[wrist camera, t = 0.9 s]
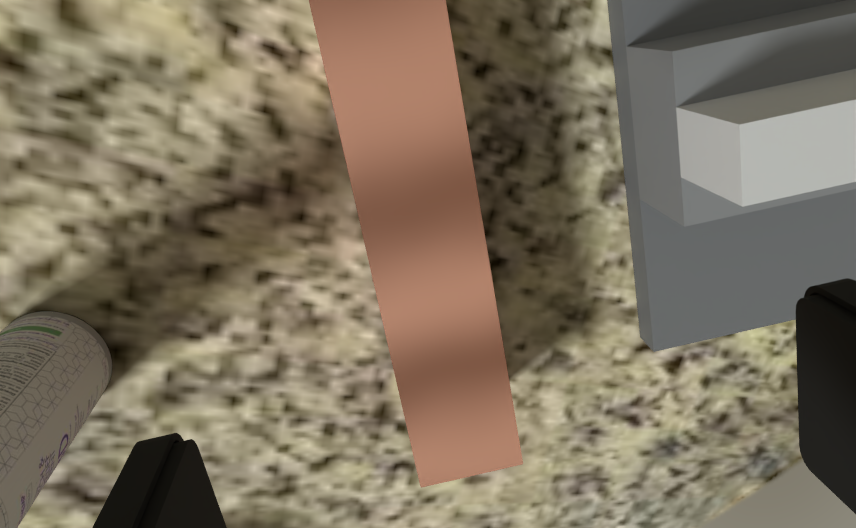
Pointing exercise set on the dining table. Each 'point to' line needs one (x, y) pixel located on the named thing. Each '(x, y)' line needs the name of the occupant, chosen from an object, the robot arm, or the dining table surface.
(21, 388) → the container
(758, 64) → the ridge stand
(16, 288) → the dining table surface
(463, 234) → the beam
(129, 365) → the dining table surface
